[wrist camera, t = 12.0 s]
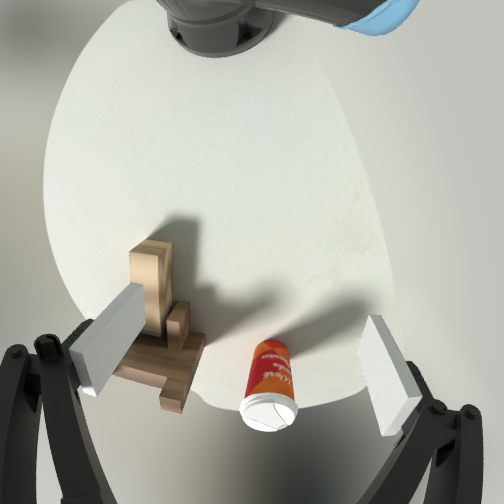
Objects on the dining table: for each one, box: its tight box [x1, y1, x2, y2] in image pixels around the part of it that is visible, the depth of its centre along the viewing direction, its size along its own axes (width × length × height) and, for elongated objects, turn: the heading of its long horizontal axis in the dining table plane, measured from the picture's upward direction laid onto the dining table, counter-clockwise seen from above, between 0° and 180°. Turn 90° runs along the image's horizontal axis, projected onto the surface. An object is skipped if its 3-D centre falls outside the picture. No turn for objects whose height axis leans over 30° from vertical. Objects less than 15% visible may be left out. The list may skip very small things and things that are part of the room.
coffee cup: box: [240, 340, 298, 431], centre depth 42 cm, size 8×8×15 cm
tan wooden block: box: [129, 239, 172, 337], centre depth 43 cm, size 14×4×6 cm, turn 174°
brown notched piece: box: [112, 301, 205, 414], centre depth 41 cm, size 9×16×16 cm, turn 84°
